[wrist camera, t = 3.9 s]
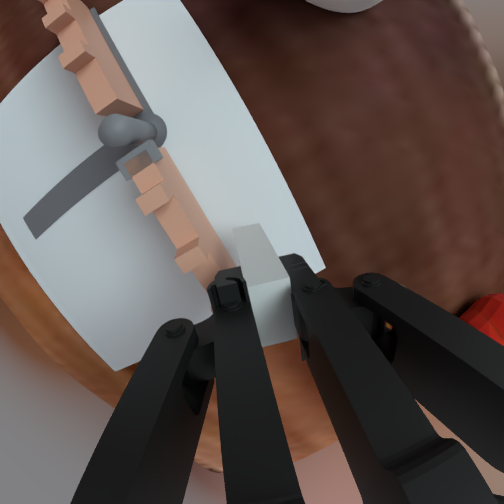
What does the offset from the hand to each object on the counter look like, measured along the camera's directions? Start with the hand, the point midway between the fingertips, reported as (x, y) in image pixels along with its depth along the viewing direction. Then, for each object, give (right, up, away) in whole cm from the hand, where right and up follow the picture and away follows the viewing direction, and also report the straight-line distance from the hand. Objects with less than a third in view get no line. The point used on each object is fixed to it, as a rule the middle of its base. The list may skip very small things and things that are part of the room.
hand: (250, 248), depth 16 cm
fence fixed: (-9, +11, -2) cm, 15 cm away
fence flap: (-3, +2, +2) cm, 4 cm away
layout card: (-9, +4, +1) cm, 10 cm away
